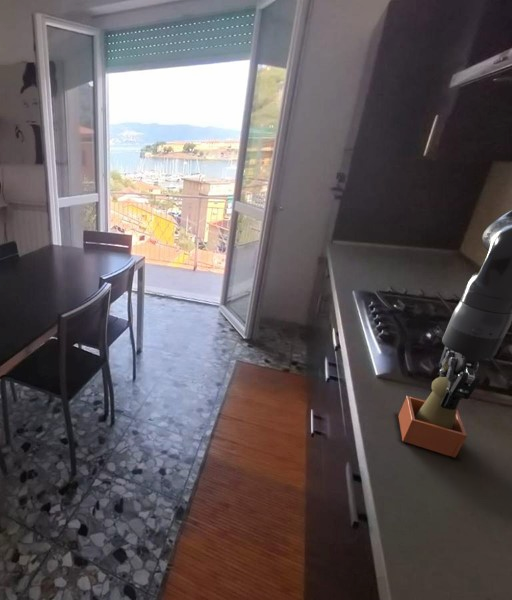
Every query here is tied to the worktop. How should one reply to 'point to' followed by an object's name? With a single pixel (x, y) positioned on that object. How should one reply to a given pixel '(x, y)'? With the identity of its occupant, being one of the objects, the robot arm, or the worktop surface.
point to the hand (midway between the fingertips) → (444, 398)
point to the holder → (430, 430)
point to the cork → (437, 406)
